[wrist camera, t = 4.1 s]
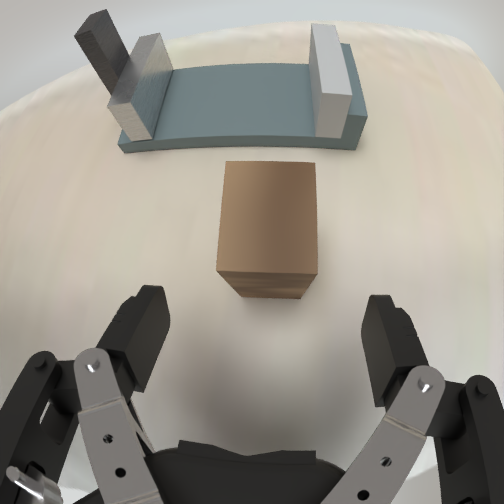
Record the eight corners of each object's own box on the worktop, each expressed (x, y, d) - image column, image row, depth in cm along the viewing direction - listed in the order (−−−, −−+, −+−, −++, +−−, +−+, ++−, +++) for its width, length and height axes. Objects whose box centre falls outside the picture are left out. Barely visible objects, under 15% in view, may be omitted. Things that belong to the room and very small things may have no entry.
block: (241, 296, 21) (215, 270, 12) (245, 227, 22) (226, 161, 13) (300, 298, 20) (317, 274, 12) (301, 228, 22) (315, 162, 13)
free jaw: (116, 143, 23) (55, 62, 13) (141, 73, 26) (104, -3, 16) (152, 139, 23) (98, 48, 13) (173, 68, 25) (142, -14, 15)
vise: (124, 153, 25) (91, 110, 19) (146, 84, 27) (125, 40, 21) (355, 150, 23) (374, 97, 17) (342, 77, 25) (352, 27, 19)
